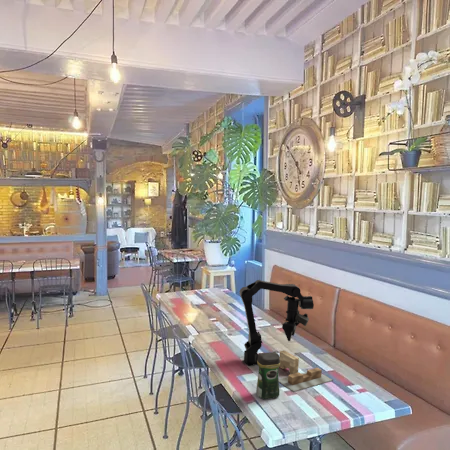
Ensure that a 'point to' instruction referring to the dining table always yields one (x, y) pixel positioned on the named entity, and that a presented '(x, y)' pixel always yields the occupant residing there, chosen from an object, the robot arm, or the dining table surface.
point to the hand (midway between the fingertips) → (291, 338)
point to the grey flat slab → (304, 380)
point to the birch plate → (289, 362)
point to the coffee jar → (268, 375)
